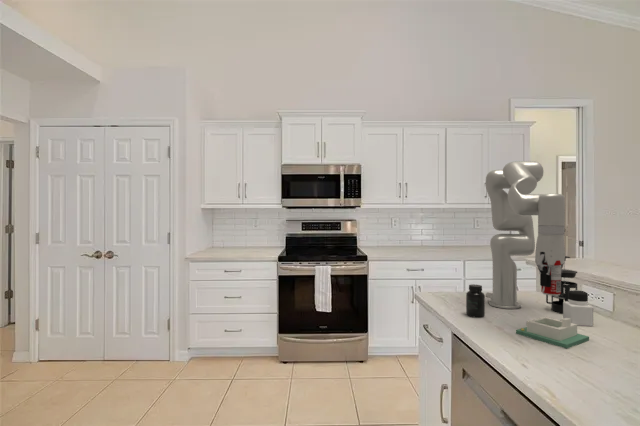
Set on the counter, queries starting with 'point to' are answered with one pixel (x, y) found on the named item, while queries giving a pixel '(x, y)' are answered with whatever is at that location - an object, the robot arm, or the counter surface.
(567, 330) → the board
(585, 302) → the medicine bottle
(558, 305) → the french press
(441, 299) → the counter surface
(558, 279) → the soda can
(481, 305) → the supplement bottle
